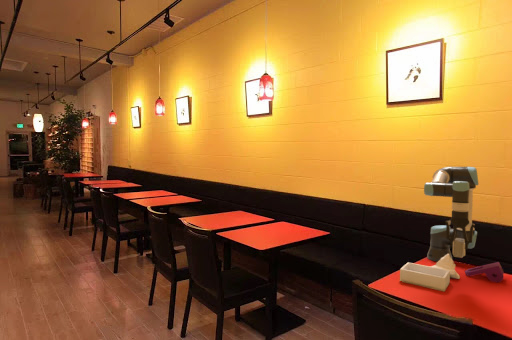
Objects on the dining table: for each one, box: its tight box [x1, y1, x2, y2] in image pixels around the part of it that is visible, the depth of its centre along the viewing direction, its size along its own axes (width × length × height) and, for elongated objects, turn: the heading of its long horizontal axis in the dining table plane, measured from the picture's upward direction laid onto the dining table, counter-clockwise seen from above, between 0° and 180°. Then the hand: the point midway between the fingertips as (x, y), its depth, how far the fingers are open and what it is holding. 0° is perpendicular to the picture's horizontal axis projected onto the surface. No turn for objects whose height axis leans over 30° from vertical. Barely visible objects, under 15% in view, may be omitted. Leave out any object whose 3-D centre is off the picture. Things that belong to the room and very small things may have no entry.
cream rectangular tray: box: [399, 261, 451, 292], centre depth 183 cm, size 16×22×7 cm
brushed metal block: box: [452, 238, 465, 259], centre depth 174 cm, size 10×4×8 cm, turn 142°
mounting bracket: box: [464, 261, 505, 283], centre depth 191 cm, size 9×8×18 cm
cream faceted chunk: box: [430, 254, 461, 280], centre depth 194 cm, size 12×15×14 cm
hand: (458, 254), depth 174 cm, fingers closed on brushed metal block, 4 cm apart
